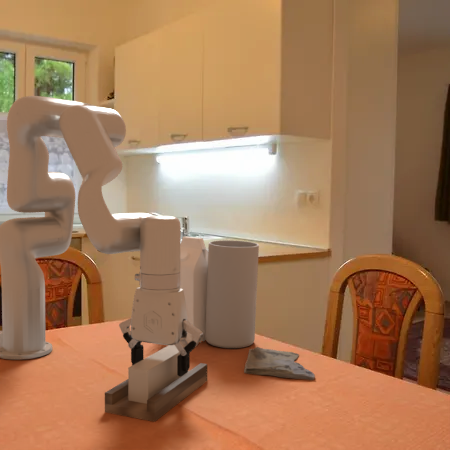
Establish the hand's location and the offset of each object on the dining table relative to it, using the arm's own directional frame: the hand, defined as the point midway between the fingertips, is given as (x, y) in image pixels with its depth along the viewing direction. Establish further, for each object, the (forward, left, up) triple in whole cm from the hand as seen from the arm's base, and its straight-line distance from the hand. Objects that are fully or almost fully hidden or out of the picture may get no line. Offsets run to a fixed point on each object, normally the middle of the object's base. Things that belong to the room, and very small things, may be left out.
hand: (159, 370), depth 111 cm
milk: (-13, +41, -5) cm, 43 cm away
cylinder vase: (-1, +39, -5) cm, 39 cm away
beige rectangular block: (0, 0, -3) cm, 3 cm away
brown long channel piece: (0, 0, -5) cm, 5 cm away
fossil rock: (+15, +27, -6) cm, 31 cm away
